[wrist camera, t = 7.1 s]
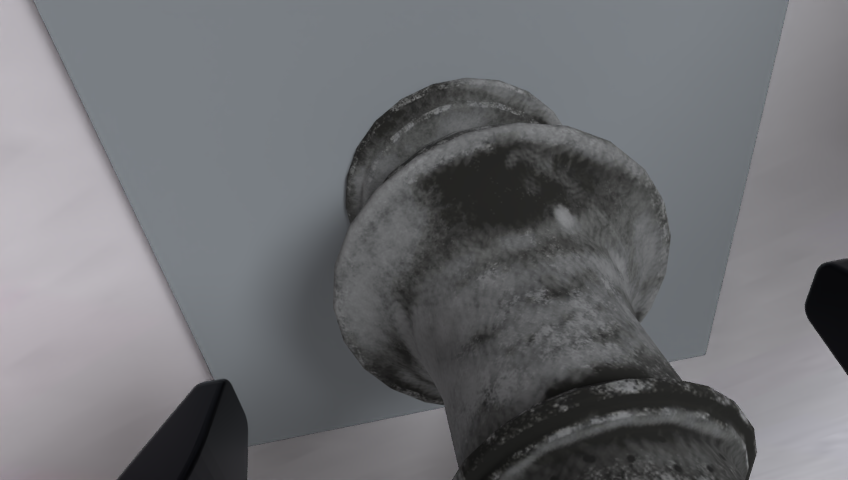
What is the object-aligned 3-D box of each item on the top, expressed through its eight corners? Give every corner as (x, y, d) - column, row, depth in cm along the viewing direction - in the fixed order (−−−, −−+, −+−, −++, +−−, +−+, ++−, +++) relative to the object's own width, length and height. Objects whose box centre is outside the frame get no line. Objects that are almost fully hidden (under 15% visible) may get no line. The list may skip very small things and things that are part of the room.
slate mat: (820, -249, 9) (850, -257, 9) (693, 341, 17) (705, 354, 16) (-14, -141, 8) (-36, -143, 8) (248, 429, 16) (246, 447, 15)
